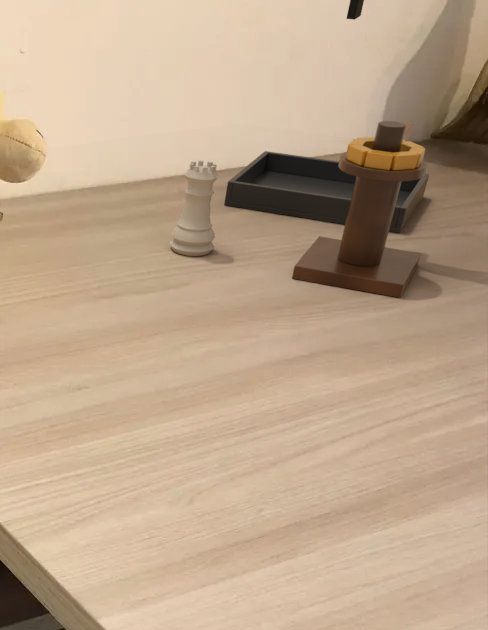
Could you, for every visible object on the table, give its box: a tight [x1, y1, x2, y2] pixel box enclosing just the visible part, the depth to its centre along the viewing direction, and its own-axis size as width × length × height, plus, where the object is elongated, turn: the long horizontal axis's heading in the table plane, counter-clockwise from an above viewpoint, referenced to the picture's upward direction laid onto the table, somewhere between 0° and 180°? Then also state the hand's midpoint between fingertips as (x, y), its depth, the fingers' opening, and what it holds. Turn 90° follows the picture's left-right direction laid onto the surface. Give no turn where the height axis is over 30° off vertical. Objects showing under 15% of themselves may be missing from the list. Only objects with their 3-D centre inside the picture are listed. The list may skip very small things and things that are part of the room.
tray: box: [223, 150, 430, 234], centre depth 117 cm, size 19×15×2 cm
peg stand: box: [291, 120, 428, 299], centre depth 95 cm, size 10×10×13 cm
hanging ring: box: [345, 121, 426, 170], centre depth 95 cm, size 14×6×1 cm, turn 153°
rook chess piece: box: [169, 160, 220, 257], centre depth 101 cm, size 4×4×8 cm
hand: (428, 25), depth 94 cm, fingers open, 13 cm apart
